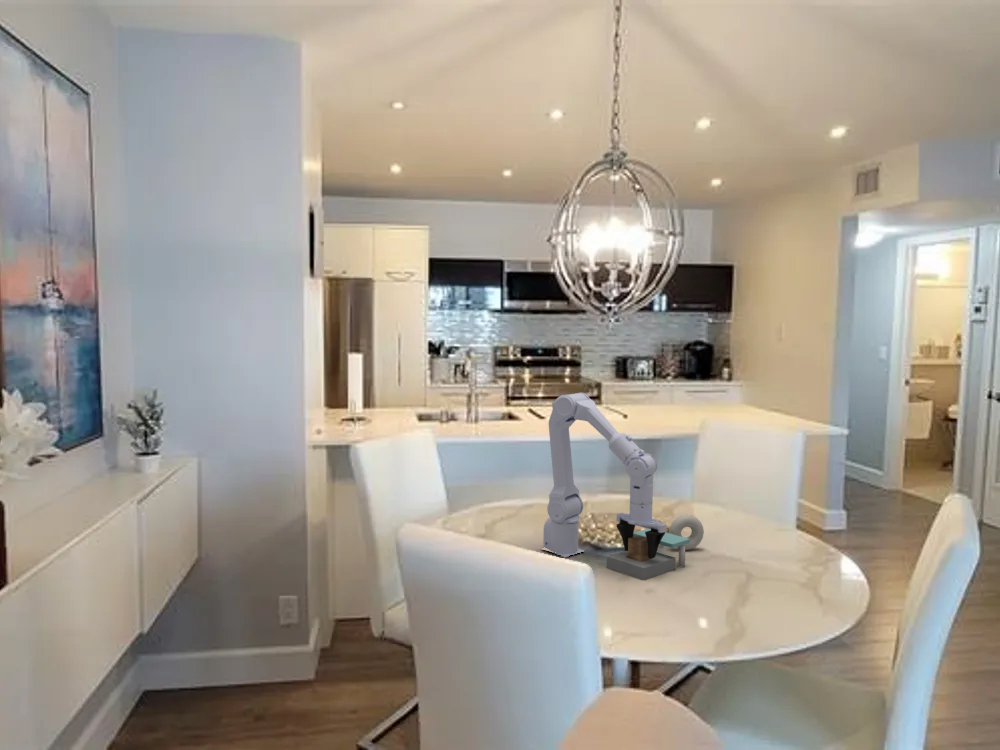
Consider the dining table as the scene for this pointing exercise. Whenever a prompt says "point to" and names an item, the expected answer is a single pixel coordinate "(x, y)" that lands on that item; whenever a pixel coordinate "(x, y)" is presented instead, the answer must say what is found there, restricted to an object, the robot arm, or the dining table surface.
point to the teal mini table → (670, 543)
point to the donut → (693, 524)
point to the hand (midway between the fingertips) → (639, 553)
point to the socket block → (640, 565)
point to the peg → (638, 548)
